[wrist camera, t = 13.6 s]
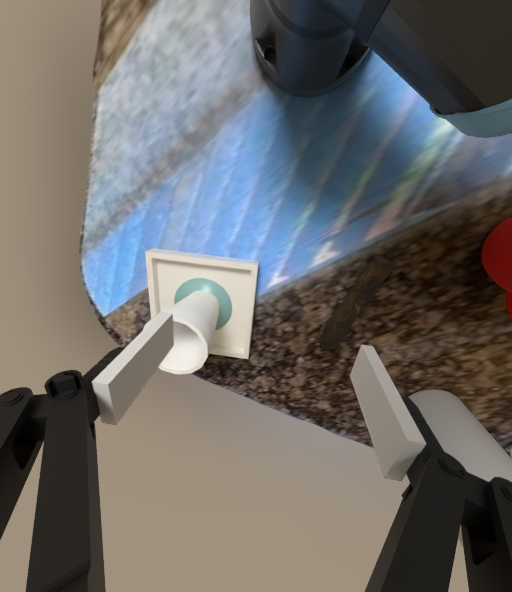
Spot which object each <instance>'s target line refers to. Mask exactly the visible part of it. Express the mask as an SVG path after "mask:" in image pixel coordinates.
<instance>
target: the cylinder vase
mask: <svg viewBox="0 0 512 592" xmlns="http://www.w3.org/2000/svg"><path fill="white" fill-rule="evenodd" d="M408 397H409V398H410V399H411V400H412V401H413V402H414V403H415V404H416V405H417V407H418V408H419V410H420V412H421V413H422V416H423V417H424V418H425V420H426V422H427V424H428V425H429V427H430V428H431V430H432V432H433V433H434V435H435V437H436V438H437V440H438V442H439V443H440V445H441V447H442V448H443V450H444V452H446V453H448V454H450V455H451V456H453V457H454V458H455V459H457V460H458V461H459V462H460V463H461V464H462V465H463V467H464V468H465V469H466V471H467V472H469V473H471V474H473V475H475V476H477V477H479V478H482V479H484V480H486V481H488V482H490V481H491V479H493V478H494V477H502V478H504V479H507V480H509V481H511V482H512V459H511V458H510V456H509V455H508V454H507V453H506V452H505V451H504V450H503V449H502V447H501V446H500V445H499V444H498V443H497V442H496V441H495V439H494V438H493V437H492V436H491V435H490V434H489V433H488V431H487V430H486V429H485V428H484V427H483V426H482V425H481V423H480V422H479V421H478V420H477V419H476V418H475V417H474V416H473V414H472V413H471V412H470V411H469V410H468V409H467V408H466V406H465V405H464V404H463V403H462V402H461V401H460V400H459V399H458V398H457V397H456V396H455V395H453V394H452V393H449V392H447V391H443V390H438V389H428V390H422V391H418V392H416V393H413V394H411V395H410V396H408ZM458 538H459V540H460V542H461V544H462V545H463V539H462V531H461V525H460V530H459V535H458ZM463 548H464V547H463Z"/></svg>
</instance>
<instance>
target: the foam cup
mask: <svg viewBox="0 0 512 592" xmlns="http://www.w3.org/2000/svg"><path fill="white" fill-rule="evenodd" d="M162 312H167V313H173V334H174V346H173V347H172V349H171V350H170V351H169V353H168V354H167V356H166V357H165V358H164V360H163V361H162V362H161V364H160V365H159V368H160V369H161V370H164V371H167V372H170V373H173V374H190V373H192V372H194V371H196V370H198V369H200V368H201V367H202V366H203V364H204V362H205V361H206V359H207V357H208V355H209V353H210V351H211V349H212V340H213V336H214V332H215V328H216V324H217V320H218V315H219V302H218V300H217V298H216V297H215V296H214V295H212V294H211V293H210V292H207V291H204V290H201V291H195V292H193V293H192V294H190V295H189V296H187V297H185V298H184V299H182V300H181V301H179V302H178V303H176V304H175V305H173V306H172V307H170V308H169V309H165V310H163V311H162ZM160 313H161V312H160ZM160 313H159V314H160ZM159 314H157V315H156V316H154V317H153V318H152V319H151V320H150V321H149V322H148V323H147V324H146V325H145V326H144V329H145V328H146V327H147V326H148V325H149V324H150V323H151V322H152V321H153V320H154V319H155V318H156V317H157V316H158V315H159ZM144 329H143V330H144Z"/></svg>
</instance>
